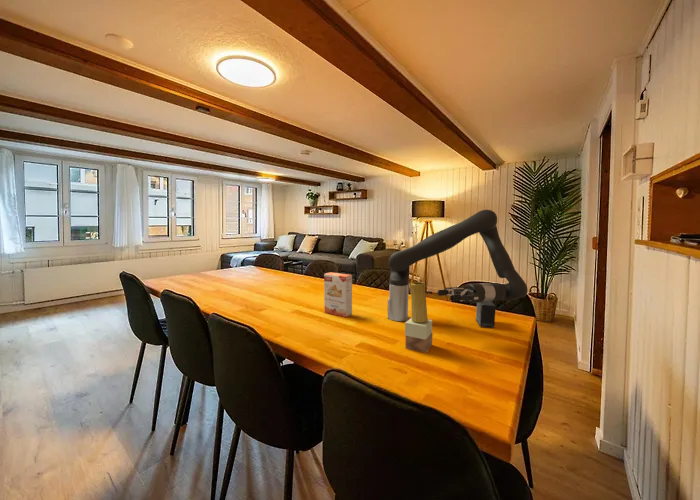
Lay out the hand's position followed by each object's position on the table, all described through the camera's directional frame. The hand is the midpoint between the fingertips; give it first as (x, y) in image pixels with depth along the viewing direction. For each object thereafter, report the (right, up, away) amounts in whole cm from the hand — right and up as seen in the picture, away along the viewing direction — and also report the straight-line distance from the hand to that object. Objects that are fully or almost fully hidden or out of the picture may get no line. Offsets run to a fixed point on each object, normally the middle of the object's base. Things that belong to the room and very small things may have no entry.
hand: (444, 295), depth 118 cm
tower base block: (-10, -20, -1) cm, 22 cm away
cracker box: (-42, -16, +41) cm, 61 cm away
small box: (+27, -17, +25) cm, 40 cm away
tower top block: (-10, -15, -1) cm, 18 cm away
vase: (-10, -10, -1) cm, 14 cm away
